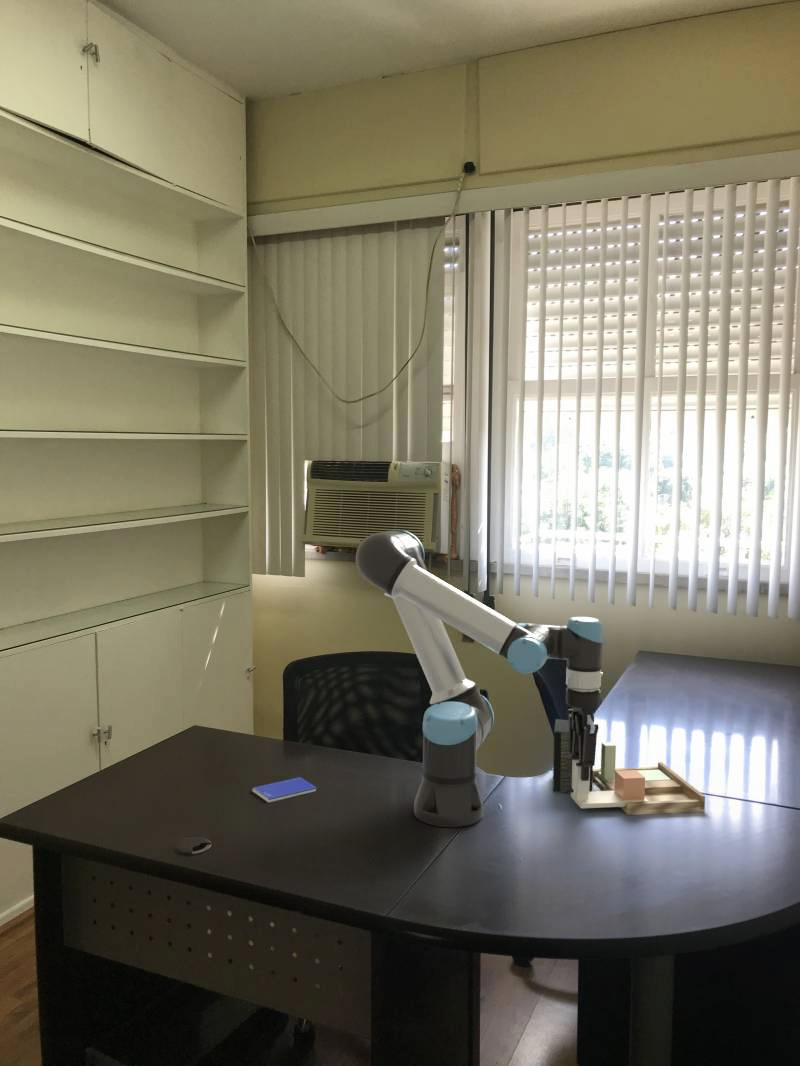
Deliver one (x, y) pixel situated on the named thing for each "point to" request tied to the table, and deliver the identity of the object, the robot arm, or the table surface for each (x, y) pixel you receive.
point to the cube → (629, 785)
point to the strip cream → (598, 797)
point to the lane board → (660, 794)
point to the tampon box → (563, 759)
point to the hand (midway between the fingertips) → (580, 790)
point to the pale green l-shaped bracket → (609, 766)
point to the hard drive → (284, 789)
